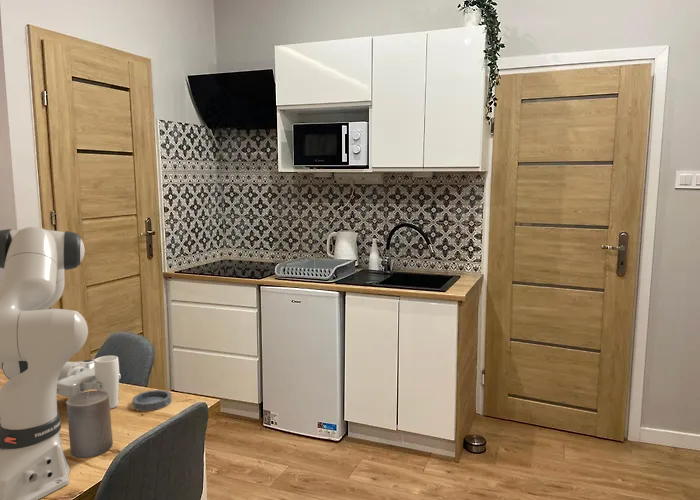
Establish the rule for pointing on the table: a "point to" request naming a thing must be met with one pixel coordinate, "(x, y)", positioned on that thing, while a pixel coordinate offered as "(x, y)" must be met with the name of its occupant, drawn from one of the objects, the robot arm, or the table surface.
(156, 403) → the coaster
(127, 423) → the table surface
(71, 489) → the table surface
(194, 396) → the table surface
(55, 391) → the robot arm
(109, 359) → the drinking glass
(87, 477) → the table surface
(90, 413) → the pillar candle
